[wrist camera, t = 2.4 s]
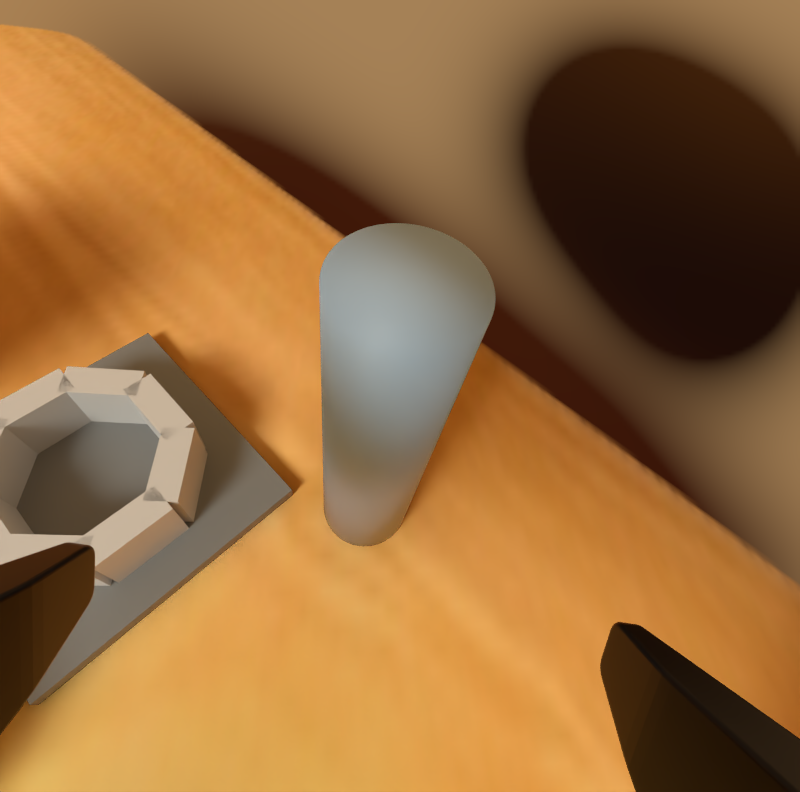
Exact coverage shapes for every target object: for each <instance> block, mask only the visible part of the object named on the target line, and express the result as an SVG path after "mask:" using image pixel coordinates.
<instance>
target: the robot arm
mask: <svg viewBox="0 0 800 792" xmlns="http://www.w3.org/2000/svg"><path fill="white" fill-rule="evenodd" d="M94 585H95V551H94V548H93V547H92V546H90V545H85V544H78V543H71V542H66V543H63V544H60V545H57V546H54V547H51V548H48V549H45V550H42V551H39V552H36V553H33V554H30V555H27V556H24V557H21V558H18V559H16V560H13V561H10V562H7V563H4V564H1V565H0V735H1V733H2V732H3V731H4V729H5V728H6V727H7V725H8V724H9V723H10V722H11V720H12V719H13V718H14V716H15V715H16V714H17V712H18V711H19V710H20V709H21V707H22V706H23V705H24V703H25V702H26V701H27V699H28V698H29V696H30V695H31V694H32V692H33V691H34V690H35V688H36V687H37V685H38V684H39V682H40V681H41V679H42V678H43V676H44V675H45V673H46V671H47V670H48V668H49V667H50V665H51V663H52V662H53V660H54V659H55V657H56V656H57V654H58V652H59V651H60V649H61V648H62V646H63V644H64V643H65V641H66V640H67V638H68V637H69V635H70V633H71V632H72V630H73V629H74V627H75V626H76V624H77V622H78V621H79V619H80V618H81V616H82V614H83V613H84V611H85V610H86V608H87V607H88V605H89V603H90V601H91V599H92V596H93V593H94ZM600 669H601V676H602V680H603V684H604V687H605V691H606V694H607V698H608V701H609V705H610V709H611V712H612V716H613V719H614V723H615V727H616V730H617V734H618V737H619V741H620V745H621V748H622V752H623V755H624V758H625V762H626V765H627V768H628V771H629V774H630V777H631V779H632V782H633V785H634V788H635V790H636V792H800V739H799V738H798V737H796V736H795V735H794V734H792V733H791V732H789V731H788V730H787V729H785V728H784V727H782V726H781V725H780V724H778V723H777V722H775V721H774V720H773V719H771V718H770V717H768V716H767V715H765V714H764V713H763V712H761V711H760V710H758V709H757V708H756V707H754V706H753V705H751V704H750V703H749V702H747V701H746V700H744V699H743V698H742V697H740V696H739V695H737V694H736V693H735V692H733V691H732V690H730V689H729V688H727V687H726V686H725V685H723V684H722V683H720V682H719V681H718V680H716V679H715V678H713V677H712V676H711V675H709V674H708V673H706V672H705V671H704V670H702V669H701V668H699V667H698V666H696V665H695V664H694V663H692V662H691V661H689V660H688V659H687V658H685V657H684V656H682V655H681V654H680V653H678V652H677V651H675V650H674V649H673V648H671V647H670V646H668V645H667V644H665V643H664V642H663V641H661V640H660V639H658V638H657V637H656V636H654V635H653V634H651V633H650V632H649V631H647V630H646V629H644V628H643V627H641V626H639V625H637V624H629V623H622V622H617V623H615V624H614V625H613V626H612V628H611V630H610V633H609V637H608V640H607V643H606V646H605V649H604V652H603V655H602V659H601V665H600Z"/></svg>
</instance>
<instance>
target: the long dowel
mask: <svg viewBox="0 0 800 792" xmlns="http://www.w3.org/2000/svg"><path fill="white" fill-rule="evenodd" d="M319 289H320V338H321V387H322V436H323V486H324V513H325V517H326V520H327V523H328V525H329V526H330V528H331V529H332V531H333V532H334V533H335V534H336V535H337V536H338V537H339V538H341V539H342V540H344V541H346V542H348V543H350V544H353V545H358V546H372V545H376V544H379V543H382V542H384V541H386V540H387V539H389V538H390V537H391V536H392V535H393V534H394V533H395V532H396V531H397V530H398V528H399V527H400V525H401V523H402V521H403V519H404V516H405V514H406V512H407V510H408V507H409V505H410V503H411V500H412V498H413V496H414V494H415V491H416V489H417V487H418V484H419V482H420V480H421V478H422V475H423V473H424V471H425V469H426V466H427V464H428V462H429V459H430V457H431V455H432V453H433V450H434V448H435V446H436V443H437V441H438V439H439V437H440V434H441V432H442V430H443V427H444V425H445V423H446V421H447V418H448V416H449V414H450V412H451V409H452V407H453V405H454V402H455V400H456V398H457V396H458V393H459V391H460V389H461V386H462V384H463V382H464V380H465V377H466V375H467V373H468V370H469V368H470V366H471V364H472V361H473V359H474V357H475V355H476V352H477V350H478V348H479V345H480V343H481V341H482V339H483V336H484V334H485V332H486V329H487V327H488V325H489V322H490V320H491V318H492V315H493V312H494V308H495V300H496V299H495V289H494V284H493V282H492V279H491V276H490V274H489V272H488V270H487V268H486V267H485V266H484V264H483V263H482V262H481V260H480V259H479V258H478V257H477V256H476V255H475V254H474V253H473V252H472V251H471V250H470V249H469V248H468V247H466V246H465V245H464V244H462V243H460V242H459V241H458V240H456V239H454V238H452V237H451V236H449V235H447V234H444V233H442V232H440V231H437V230H434V229H431V228H427V227H423V226H419V225H413V224H402V223H401V224H400V223H392V224H381V225H375V226H371V227H367V228H364V229H361V230H358V231H356V232H354V233H352V234H350V235H348V236H347V237H345V238H344V239H342V240H341V241H340V242H339V243H337V244H336V245H335V246H334V247H333V248H332V250H331V251H330V252H329V253H328V255H327V257H326V258H325V260H324V262H323V265H322V268H321V272H320V281H319Z"/></svg>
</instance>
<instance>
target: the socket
mask: <svg viewBox="0 0 800 792" xmlns="http://www.w3.org/2000/svg"><path fill="white" fill-rule="evenodd" d="M292 495H293V493H292V489H291V488H290V487H289V486H288V485H287V484H286V483H285V482H284V481H283V480H282V478H281V477H280V476H279V475H278V474H277V473H276V472H275V471H274V470H273V469H272V468H271V466H270V465H269V464H268V463H267V462H266V461H265V460H264V459H263V458H262V457H261V456H260V454H259V453H258V452H257V451H256V450H255V449H254V448H253V447H252V446H251V445H250V444H249V442H248V441H247V440H246V439H245V438H244V437H243V436H242V435H241V434H240V433H239V432H238V431H237V429H236V428H235V427H234V426H233V425H232V424H231V423H230V422H229V421H228V420H227V419H226V417H225V416H224V415H223V414H222V413H221V412H220V411H219V410H218V409H217V408H216V407H215V405H214V404H213V403H212V402H211V401H210V400H209V399H208V398H207V397H206V396H205V395H204V393H203V392H202V391H201V390H200V389H199V388H198V387H197V386H196V385H195V384H194V383H193V382H192V380H191V379H190V378H189V377H188V376H187V375H186V374H185V373H184V372H183V371H182V370H181V368H180V367H179V366H178V365H177V364H176V363H175V362H174V361H173V360H172V359H171V358H170V356H169V355H168V354H167V353H166V352H165V351H164V350H163V349H162V348H161V347H160V346H159V344H158V343H157V342H156V341H155V340H154V339H153V338H152V337H151V336H150V335H149V334H148V333H147V334H145V335H144V336H142V337H140V338H138V339H136V340H135V341H133V342H131V343H129V344H127V345H126V346H124V347H122V348H120V349H118V350H117V351H115V352H113V353H111V354H109V355H108V356H106V357H104V358H102V359H100V360H99V361H97V362H95V363H93V364H91V365H90V366H88V367H70V366H67V368H66V370H65V373H64V374H63V372H62V371H61V370H60V369H57V370H55V371H53V372H51V373H49V374H47V375H46V376H44V377H42V378H40V379H38V380H36V381H35V382H33V383H31V384H29V385H27V386H25V387H24V388H22V389H20V390H18V391H16V392H14V393H12V394H11V395H9V396H7V397H5V398H3V399H1V400H0V565H1V564H4V563H7V562H10V561H13V560H16V559H18V558H21V557H24V556H27V555H30V554H33V553H36V552H39V551H42V550H45V549H48V548H51V547H54V546H57V545H60V544H63V543H66V542H71V543H78V544H85V545H90V546H92V547H93V548H94V551H95V585H94V593H93V596H92V599H91V601H90V603H89V605H88V607H87V608H86V610H85V611H84V613H83V614H82V616H81V618H80V619H79V621H78V622H77V624H76V626H75V627H74V629H73V630H72V632H71V633H70V635H69V637H68V638H67V640H66V641H65V643H64V644H63V646H62V648H61V649H60V651H59V652H58V654H57V656H56V657H55V659H54V660H53V662H52V663H51V665H50V667H49V668H48V670H47V671H46V673H45V675H44V676H43V678H42V679H41V681H40V682H39V684H38V685H37V687H36V688H35V690H34V691H33V692H32V694H31V695H30V696H29V698H28V699H27V701H28V703H29V705H39V704H40V703H41V702H43V701H44V700H45V699H46V698H47V697H49V696H50V695H51V694H52V693H53V692H55V691H56V690H57V689H58V688H60V687H61V686H62V685H63V684H64V683H66V682H67V681H68V680H69V679H70V678H72V677H73V676H74V675H75V674H76V673H78V672H79V671H80V670H81V669H83V668H84V667H85V666H86V665H87V664H89V663H90V662H91V661H92V660H93V659H95V658H96V657H97V656H98V655H99V654H101V653H102V652H103V651H104V650H106V649H107V648H108V647H109V646H110V645H112V644H113V643H114V642H115V641H116V640H118V639H119V638H120V637H121V636H122V635H124V634H125V633H126V632H127V631H128V630H130V629H131V628H132V627H133V626H135V625H136V624H137V623H138V622H139V621H141V620H142V619H143V618H144V617H145V616H147V615H148V614H149V613H150V612H151V611H153V610H154V609H155V608H156V607H158V606H159V605H160V604H161V603H162V602H164V601H165V600H166V599H167V598H168V597H170V596H171V595H172V594H173V593H174V592H176V591H177V590H178V589H179V588H181V587H182V586H183V585H184V584H185V583H187V582H188V581H189V580H190V579H191V578H193V577H194V576H195V575H196V574H197V573H199V572H200V571H201V570H202V569H204V568H205V567H206V566H207V565H208V564H210V563H211V562H212V561H213V560H214V559H216V558H217V557H218V556H219V555H220V554H222V553H223V552H224V551H225V550H227V549H228V548H229V547H230V546H231V545H233V544H234V543H235V542H236V541H237V540H239V539H240V538H241V537H242V536H243V535H245V534H246V533H247V532H248V531H249V530H251V529H252V528H253V527H254V526H256V525H257V524H258V523H259V522H260V521H262V520H263V519H264V518H265V517H266V516H268V515H269V514H270V513H271V512H272V511H274V510H275V509H276V508H277V507H279V506H280V505H281V504H282V503H283V502H285V501H286V500H287V499H288V498H289V497H291V496H292Z"/></svg>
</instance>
